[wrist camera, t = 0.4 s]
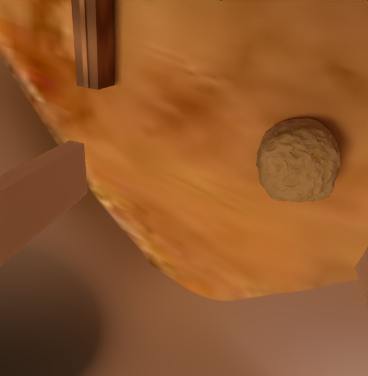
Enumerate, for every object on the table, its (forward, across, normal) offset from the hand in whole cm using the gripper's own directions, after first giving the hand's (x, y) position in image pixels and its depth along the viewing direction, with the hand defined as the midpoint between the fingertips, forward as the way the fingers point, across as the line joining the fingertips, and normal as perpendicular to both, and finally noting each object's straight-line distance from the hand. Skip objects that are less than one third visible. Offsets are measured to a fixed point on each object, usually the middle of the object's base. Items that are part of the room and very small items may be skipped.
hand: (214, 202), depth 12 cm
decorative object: (+26, +7, -6) cm, 27 cm away
